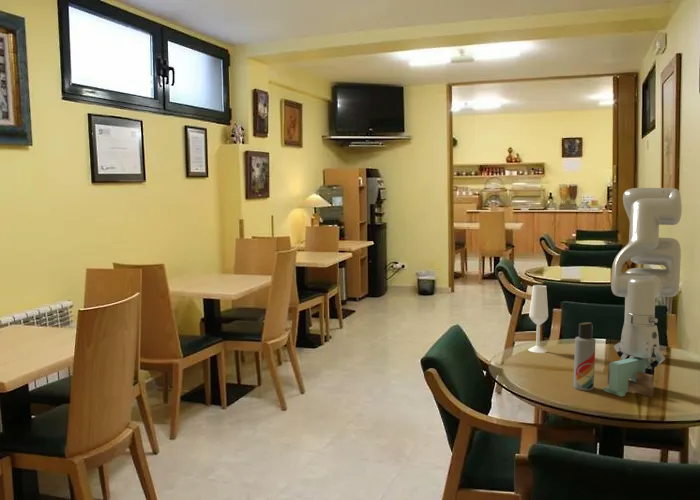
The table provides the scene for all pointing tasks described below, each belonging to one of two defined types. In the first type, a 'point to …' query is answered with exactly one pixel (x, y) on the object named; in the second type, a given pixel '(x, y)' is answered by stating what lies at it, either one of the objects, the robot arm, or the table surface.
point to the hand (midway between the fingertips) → (637, 376)
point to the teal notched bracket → (624, 374)
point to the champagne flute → (538, 313)
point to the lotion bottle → (584, 358)
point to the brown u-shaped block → (640, 383)
